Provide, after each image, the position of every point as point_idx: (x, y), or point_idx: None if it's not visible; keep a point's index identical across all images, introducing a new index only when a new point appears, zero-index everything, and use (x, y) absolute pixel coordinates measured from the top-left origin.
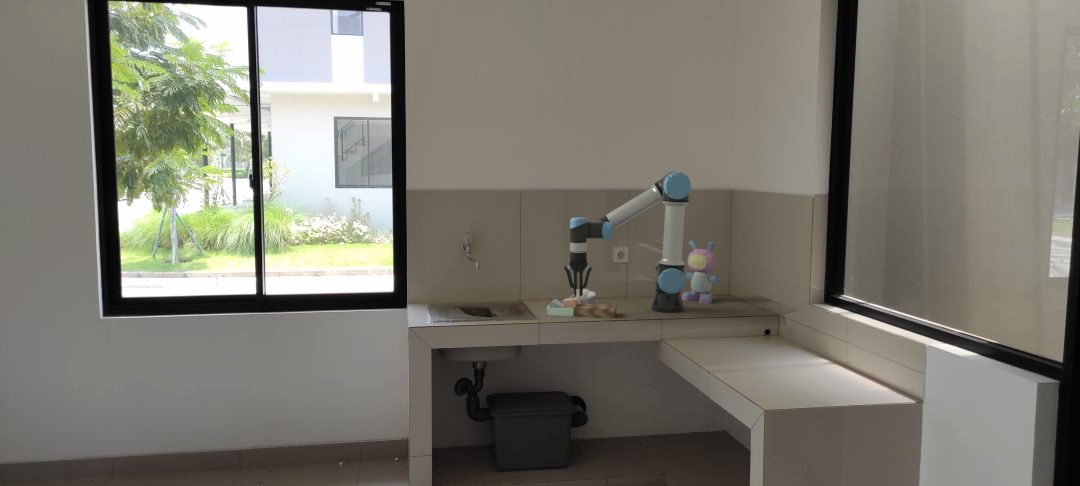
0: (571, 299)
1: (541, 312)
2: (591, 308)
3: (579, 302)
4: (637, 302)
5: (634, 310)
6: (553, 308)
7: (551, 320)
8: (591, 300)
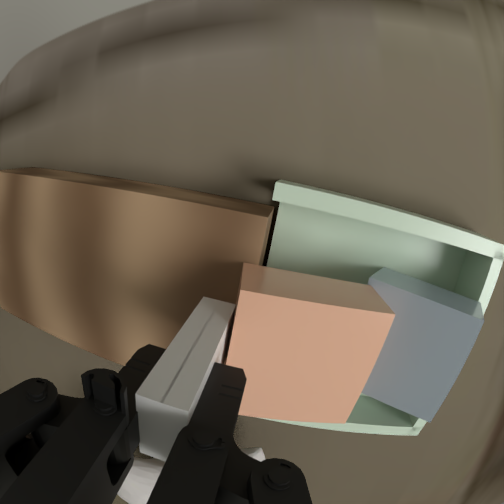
0: (287, 348)
1: (481, 332)
2: (103, 185)
3: (200, 305)
4: None
5: (3, 348)
6: (458, 230)
7: (436, 54)
8: (151, 458)
